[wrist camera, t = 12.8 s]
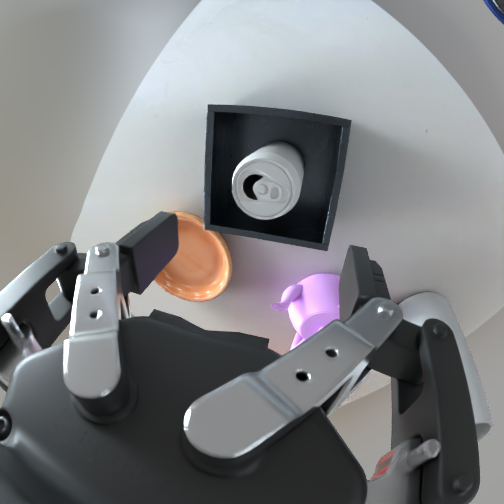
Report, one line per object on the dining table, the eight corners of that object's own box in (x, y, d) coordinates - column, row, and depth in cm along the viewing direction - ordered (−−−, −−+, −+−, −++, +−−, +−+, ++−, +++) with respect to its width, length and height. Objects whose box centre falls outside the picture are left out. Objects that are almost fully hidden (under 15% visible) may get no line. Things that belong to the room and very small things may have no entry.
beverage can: (261, 135, 32) (234, 146, 22) (311, 148, 32) (308, 165, 22) (250, 181, 36) (221, 212, 25) (297, 194, 35) (288, 232, 25)
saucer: (142, 266, 49) (133, 274, 46) (159, 190, 40) (149, 196, 38) (218, 306, 49) (212, 317, 46) (252, 235, 41) (247, 244, 38)
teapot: (279, 269, 42) (270, 305, 35) (370, 264, 38) (379, 301, 31) (287, 326, 47) (280, 364, 40) (365, 323, 44) (370, 362, 36)
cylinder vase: (460, 297, 37) (509, 417, 16) (427, 346, 43) (450, 460, 22) (405, 282, 38) (446, 424, 17) (375, 337, 45) (383, 466, 23)
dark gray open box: (230, 105, 32) (207, 104, 25) (343, 119, 30) (351, 120, 23) (224, 207, 39) (203, 229, 33) (326, 224, 37) (327, 251, 30)
